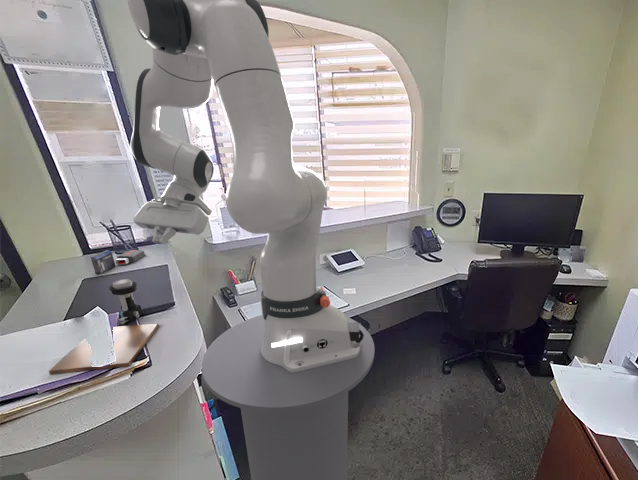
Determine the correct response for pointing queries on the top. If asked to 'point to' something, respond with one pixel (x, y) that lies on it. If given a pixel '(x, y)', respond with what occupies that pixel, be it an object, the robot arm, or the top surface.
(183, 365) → the top surface
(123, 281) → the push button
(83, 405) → the top surface
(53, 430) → the top surface
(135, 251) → the usb drive
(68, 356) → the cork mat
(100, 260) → the mini dv tape
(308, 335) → the robot arm
